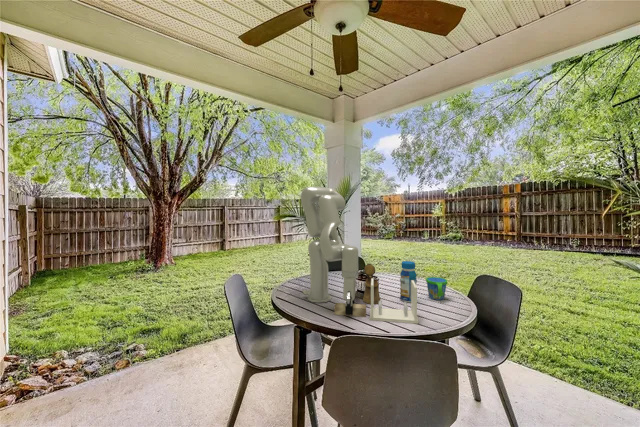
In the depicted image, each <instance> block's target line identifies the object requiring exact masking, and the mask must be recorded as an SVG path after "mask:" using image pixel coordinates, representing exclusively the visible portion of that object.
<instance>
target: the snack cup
mask: <svg viewBox="0 0 640 427" xmlns="http://www.w3.org/2000/svg"><path fill="white" fill-rule="evenodd" d="M425 281H426V285H427V286H426V287H427V293H428V298H430V299H431V300H436V301H443V300H444V299H445V295H446V291H447V285H448V283H449V282H448V279H447V278H443V277H439V276H436V277H435V276H430V277H429V276H428V277H426V278H425Z"/></svg>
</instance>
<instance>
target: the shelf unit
mask: <svg viewBox="0 0 640 427" xmlns="http://www.w3.org/2000/svg"><path fill="white" fill-rule="evenodd" d="M374 279H375V278H371V304H370V309H369V321H376V322H388V323H389V322H390V323H401V324H402V323H403V324H404V323H405V324H415V325H416V324H419V319H418V287H417V283H416V284H415V282H414V280H411V302H410V304H411V305H410V307H411V308H410V309H409V308H408V307H409V306H408V302H404V301H403V309H398V308H397V309H395V308H383V301H382V300H381V301H379V303H378V308H377V307H374V306H375V304H374Z"/></svg>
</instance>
